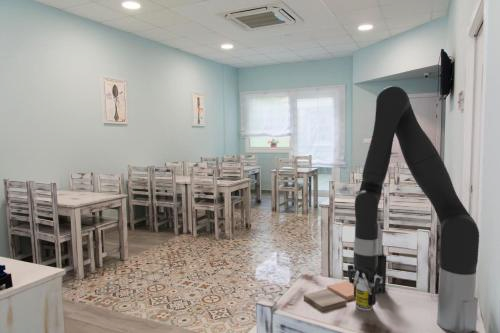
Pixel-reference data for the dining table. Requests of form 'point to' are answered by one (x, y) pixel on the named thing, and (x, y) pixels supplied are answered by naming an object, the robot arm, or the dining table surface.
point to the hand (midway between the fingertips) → (364, 301)
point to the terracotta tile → (343, 290)
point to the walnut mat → (325, 300)
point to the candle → (381, 258)
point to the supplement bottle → (362, 295)
